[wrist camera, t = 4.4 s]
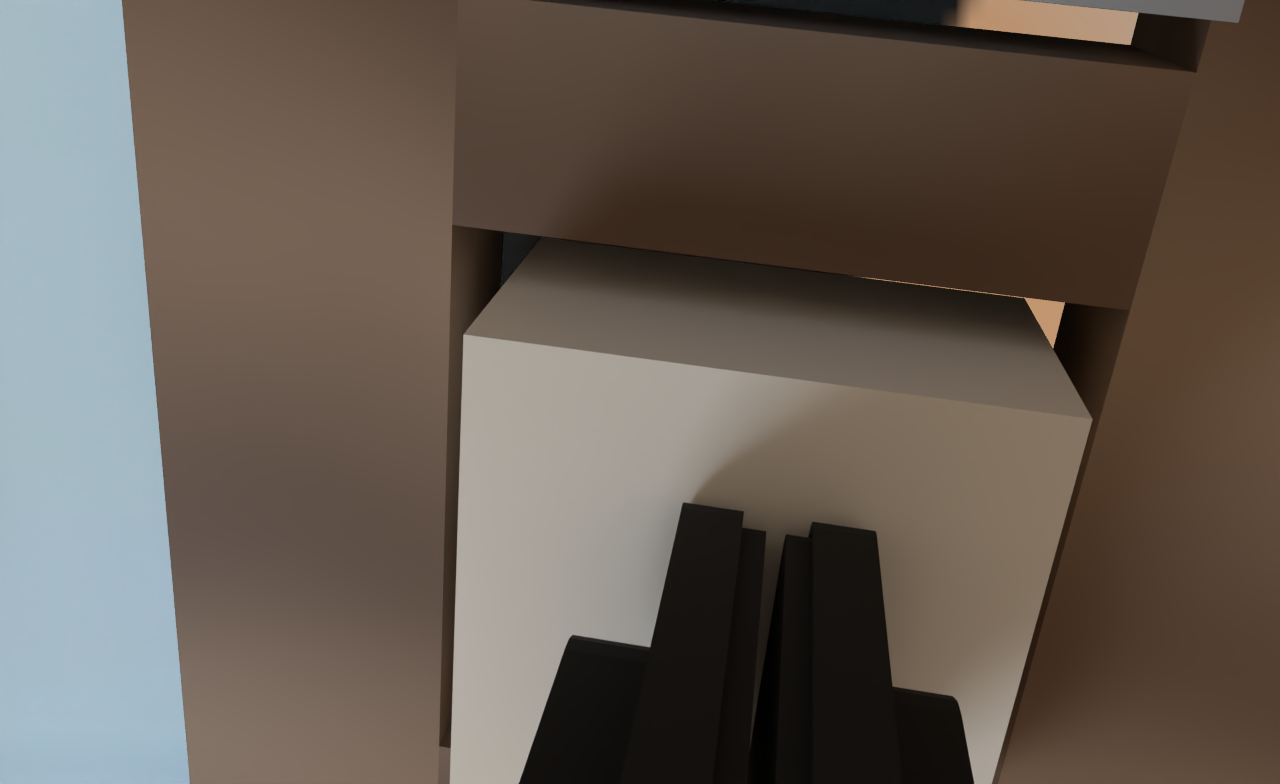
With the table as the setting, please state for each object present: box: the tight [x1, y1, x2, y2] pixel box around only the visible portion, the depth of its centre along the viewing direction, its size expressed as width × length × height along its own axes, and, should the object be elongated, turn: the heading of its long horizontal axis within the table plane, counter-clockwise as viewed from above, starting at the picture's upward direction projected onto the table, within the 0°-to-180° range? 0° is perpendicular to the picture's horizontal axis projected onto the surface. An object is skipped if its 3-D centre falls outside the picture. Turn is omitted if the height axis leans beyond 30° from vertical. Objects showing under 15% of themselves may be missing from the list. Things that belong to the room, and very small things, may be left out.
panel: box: [122, 0, 1280, 784], centre depth 12 cm, size 26×12×2 cm, turn 175°
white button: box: [450, 237, 1093, 784], centre depth 11 cm, size 5×5×3 cm
